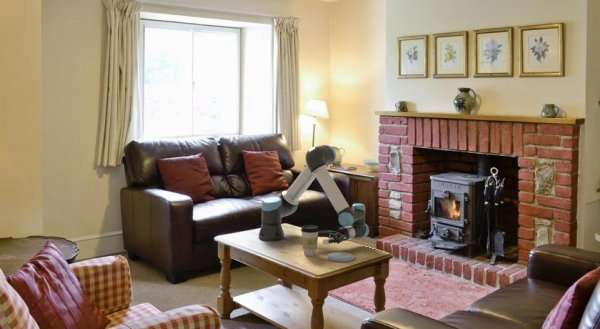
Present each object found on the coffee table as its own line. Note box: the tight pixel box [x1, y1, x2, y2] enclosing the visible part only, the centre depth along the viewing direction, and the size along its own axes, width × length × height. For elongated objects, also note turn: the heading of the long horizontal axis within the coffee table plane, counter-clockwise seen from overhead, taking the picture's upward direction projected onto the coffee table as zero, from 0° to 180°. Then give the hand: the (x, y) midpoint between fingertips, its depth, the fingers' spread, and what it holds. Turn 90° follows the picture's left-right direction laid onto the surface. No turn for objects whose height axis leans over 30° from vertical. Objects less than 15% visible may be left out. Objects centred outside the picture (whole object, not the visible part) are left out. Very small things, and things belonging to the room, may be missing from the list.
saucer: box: [327, 251, 355, 263], centre depth 304 cm, size 14×14×1 cm
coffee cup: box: [300, 224, 320, 257], centre depth 310 cm, size 10×10×15 cm
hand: (315, 239), depth 311 cm, fingers open, 13 cm apart
